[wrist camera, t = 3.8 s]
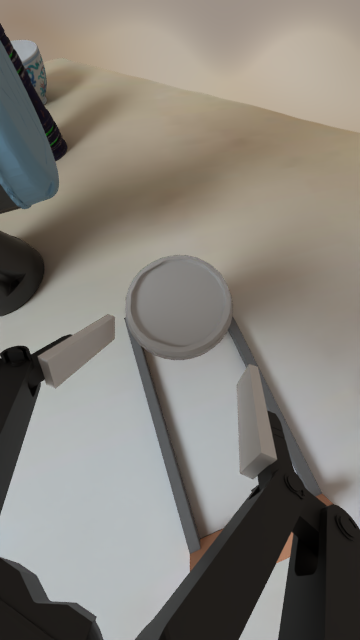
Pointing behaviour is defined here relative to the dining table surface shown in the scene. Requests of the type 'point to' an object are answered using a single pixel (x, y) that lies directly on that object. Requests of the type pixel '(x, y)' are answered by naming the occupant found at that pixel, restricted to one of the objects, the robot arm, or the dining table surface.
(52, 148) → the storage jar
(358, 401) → the dining table surface
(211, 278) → the disposable coffee cup
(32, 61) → the chinaware
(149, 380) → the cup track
